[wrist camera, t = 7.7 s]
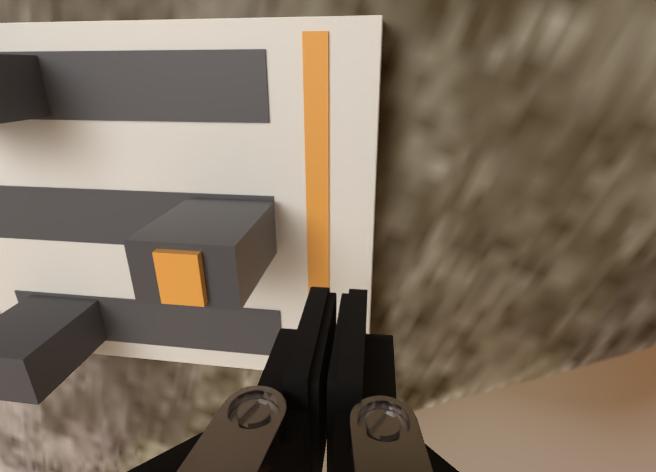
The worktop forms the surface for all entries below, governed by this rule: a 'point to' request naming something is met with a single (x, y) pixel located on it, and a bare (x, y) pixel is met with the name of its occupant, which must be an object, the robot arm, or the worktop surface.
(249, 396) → the robot arm
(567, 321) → the worktop surface
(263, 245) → the block
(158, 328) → the breaker switch panel
